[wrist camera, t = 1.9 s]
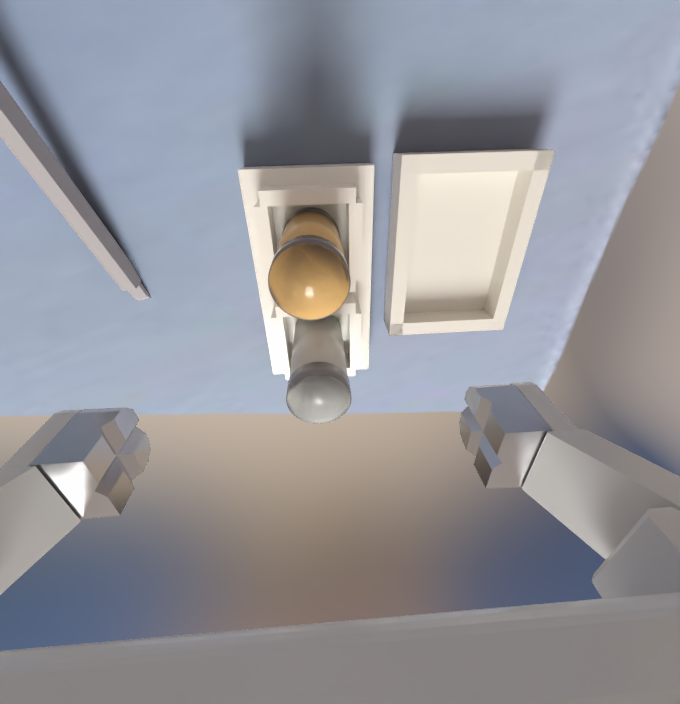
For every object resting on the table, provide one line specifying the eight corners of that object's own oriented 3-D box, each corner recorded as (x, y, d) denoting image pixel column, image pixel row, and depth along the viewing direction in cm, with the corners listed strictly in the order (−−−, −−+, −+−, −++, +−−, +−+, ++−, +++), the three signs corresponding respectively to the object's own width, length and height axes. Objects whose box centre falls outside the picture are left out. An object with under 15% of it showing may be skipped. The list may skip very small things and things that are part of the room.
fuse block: (243, 166, 21) (195, 188, 12) (369, 162, 21) (405, 181, 13) (275, 360, 29) (259, 451, 21) (365, 355, 29) (384, 442, 21)
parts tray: (393, 152, 21) (402, 154, 19) (531, 148, 21) (555, 150, 19) (383, 320, 27) (389, 335, 25) (488, 314, 28) (502, 329, 26)
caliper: (-118, -128, 14) (-377, -285, 9) (-96, -136, 14) (-344, -298, 9) (140, 298, 25) (94, 341, 20) (153, 295, 25) (110, 337, 20)
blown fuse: (279, 208, 20) (261, 243, 14) (339, 205, 20) (350, 240, 14) (286, 266, 22) (273, 322, 16) (340, 263, 22) (350, 318, 16)
